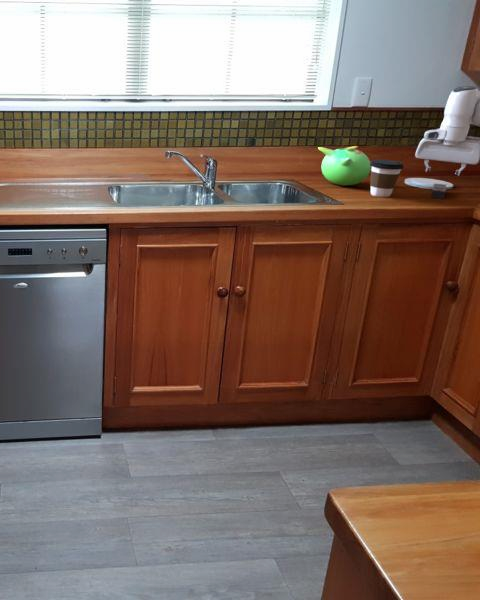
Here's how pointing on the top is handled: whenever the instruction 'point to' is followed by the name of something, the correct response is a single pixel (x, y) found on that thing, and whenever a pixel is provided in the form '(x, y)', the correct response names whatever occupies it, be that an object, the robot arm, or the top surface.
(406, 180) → the plate
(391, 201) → the top surface
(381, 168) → the coffee cup
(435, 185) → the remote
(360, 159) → the toy bird
